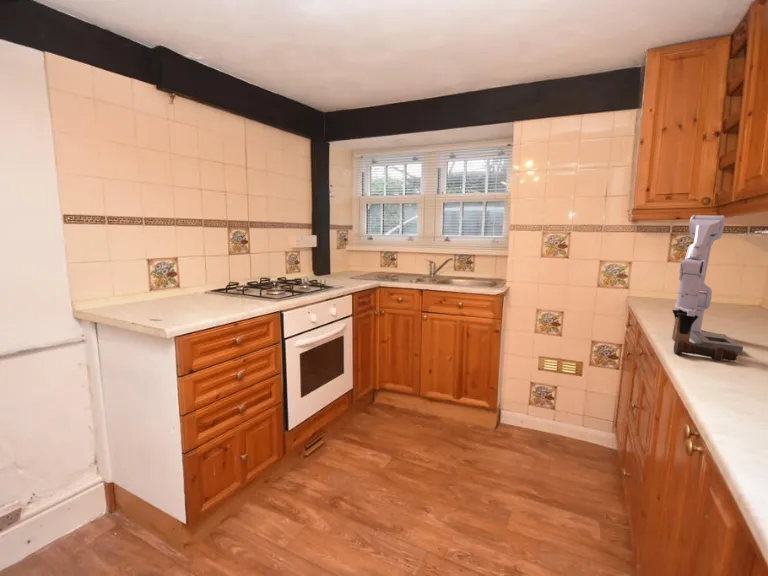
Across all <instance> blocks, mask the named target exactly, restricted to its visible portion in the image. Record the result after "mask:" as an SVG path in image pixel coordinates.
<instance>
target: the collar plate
mask: <svg viewBox="0 0 768 576" xmlns="http://www.w3.org/2000/svg"><path fill="white" fill-rule="evenodd" d="M690 339H691V340H692V341H693V342H694V344H696V345H703V346H708V347H709V346H710V347H713V346H714V345H719V346H722V347H723V349H726V350H733V351H736V352H737V355H742V354H743V349H744V346H743V345H741V344H739V343H738V342H736V341H735V340H734V339H732V338H731V337H729V336H728V335H726V334H725V333H724V334H723V333H717V332H716V333H715V332H708V331H703V332H700V331H691V333H690Z"/></svg>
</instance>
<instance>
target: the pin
mask: <svg viewBox="0 0 768 576" xmlns="http://www.w3.org/2000/svg"><path fill="white" fill-rule="evenodd" d="M673 323H674V324H673V325H674V326H673V330H672V336H671V339H672V340H673V341H674V342H675V340H676V339H677V338H682V339H683V340H684V342H687V343H690V339H691V338H690V333H691V328H690V330H689V332H688V334H680V332H679V318H678V317H675V316H674V322H673ZM691 327H692V326H691Z"/></svg>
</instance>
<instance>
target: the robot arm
mask: <svg viewBox="0 0 768 576" xmlns="http://www.w3.org/2000/svg"><path fill="white" fill-rule="evenodd" d="M725 223H726V217H725V215H723V214H722V215H705V214H704V215H703V214H702V215H698V214H697V215H695V214H693V215H691V216H690V220H689V225H688V231H689V235H690V238H692V239H693V242H692V243H691V244H690V245H688V247H687V251H686V253H685V256H684V259H681V262H680V263H679V264H680V265H679V278H678V279H679V283H678V289H677V296H676V297H677V298H676V303H675V305H674V308H675V309H672V313H673V316H674V318H675V317H678V318H679V332H680V334H688V332H689V330H690V328H691V331H700V332H704V331H703V330H702V325H703V319H704V314H705V310H707V309H709V308H710V306H711V301H712V293H713V290H712V288H711V287H710V286H709V285H707V284H706V283H705V280H706V276H707V270H708V265H709V259H710V254H711V250H712V246H713V244H714V242H715V241H717V240H721V237H722V236H723V233H724V228H725ZM691 326H692V327H691ZM673 327H674V324H673Z"/></svg>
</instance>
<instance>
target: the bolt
mask: <svg viewBox="0 0 768 576" xmlns="http://www.w3.org/2000/svg"><path fill="white" fill-rule="evenodd" d="M673 354H675V356H682V354H690V355H697V356H702V357H708V358H711V360H714V361H716V362H717V361H718V362H720V361H722V360H725V361H731V362H734V361H737V359H738V358H737V357H739V354H737V352H736V351H733V350H726V349H723V347H722V346H719V345H714V346H713V347H710V346H709V347H708V346H703V345H698V344H697V343H691V342H689V343H687V342H684V340H683V339H682V338H677V339H676V340H675V341H674V344H673Z"/></svg>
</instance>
